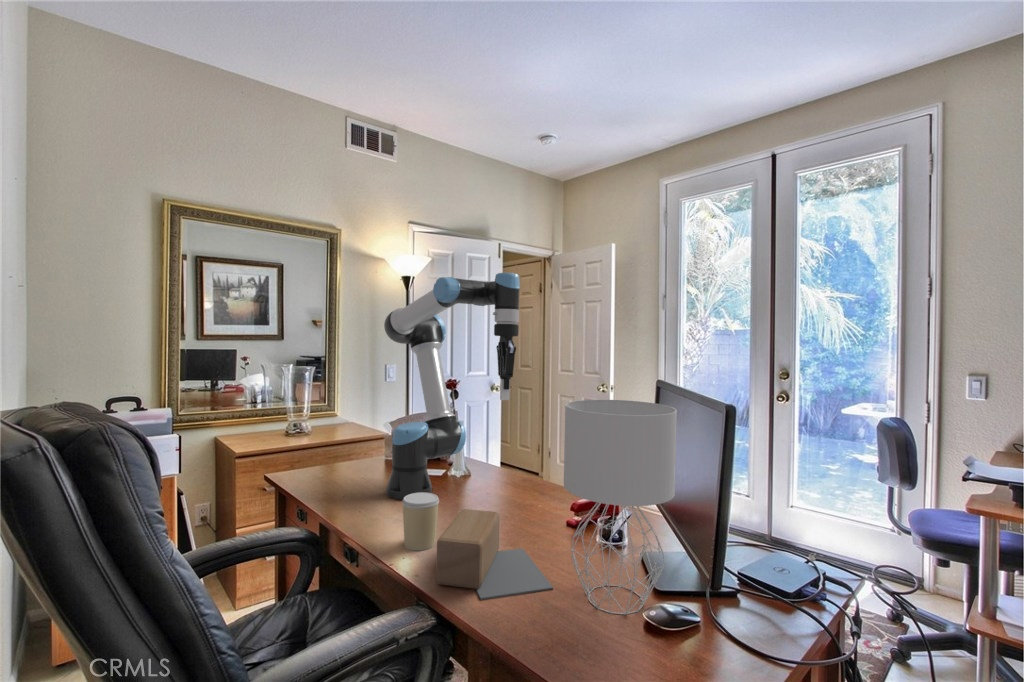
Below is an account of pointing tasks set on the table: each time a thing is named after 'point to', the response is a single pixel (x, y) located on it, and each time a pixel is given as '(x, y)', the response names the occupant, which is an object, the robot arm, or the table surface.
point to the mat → (512, 576)
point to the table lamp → (619, 469)
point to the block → (467, 548)
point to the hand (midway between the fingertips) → (504, 399)
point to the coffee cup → (420, 520)
